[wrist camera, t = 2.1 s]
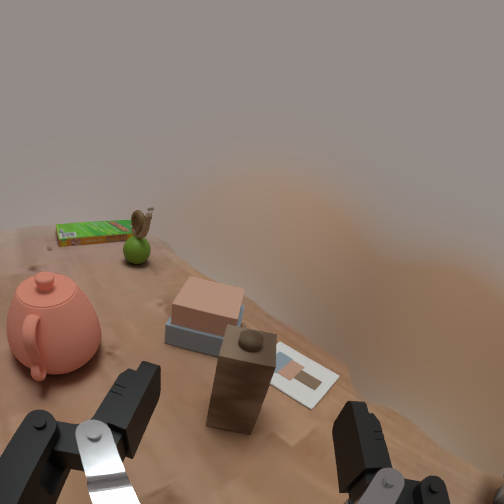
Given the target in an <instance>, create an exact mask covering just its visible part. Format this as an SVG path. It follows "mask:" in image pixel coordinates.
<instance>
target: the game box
mask: <svg viewBox="0 0 504 504" xmlns="http://www.w3.org/2000/svg"><path fill="white" fill-rule="evenodd" d="M129 224H130V225H132V223H131V220H116V221H99V222H84V223H69V224H56V233H57V238H58V242H59V247H65V246H75V245H87V244H98V243H110V242H122V241H127V240H128V239H129V238H130V237H132V236H134V235H133V234H132V232H131V226H130V225H129Z"/></svg>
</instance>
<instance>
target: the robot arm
mask: <svg viewBox="0 0 504 504" xmlns="http://www.w3.org/2000/svg"><path fill="white" fill-rule="evenodd" d="M160 390H161V368H160V366H159V365H156V364H152V363H149V362H146V361H142V362H141V364H140V365H139V367H138V369H137V371H135V370H132V369H127V370H126V371H124V372H123V373H121V374H120V375H119V376H118V378H117V379H116V381H115V383H114V385H113V386H112V387H111V389H110V392H108V394H107V395H106V397H105V398H104V400H103V402H102V403H101V405H100V407H99V408H98V410H97V411H96V413H95V415H94V416H93V418H91V419H90V420H86V421H84V422H82V423H80V424H70V423H65V422H59V421H56V420H55V418H54V417H53V416H52V414H50V413H49V412H47V411H45V410H34V411H31V412H30V413H29V414H27V416H26V417H25V419H24V420H23V422H22V423H21V425H20V426H19V428H18V429H17V431H16V432H15V434H14V436H13V437H12V439H11V440H10V442H9V444H8V445H7V447H6V449H5V450H4V452H3V454H2V455H1V457H0V504H56V502H57V500H58V497H59V495H60V493H61V490H62V488H63V486H64V483H65V481H66V479H67V477H68V474H69V472H70V470H71V469H74V470H80V471H85V474H86V477H87V481H88V483H87V487H88V491H89V494H90V497H91V500H92V502H93V504H140V503H139V501H138V499H137V497H136V494H135V492H134V490H133V488H132V485H131V483H130V481H129V478H128V476H127V474H126V472H125V469H124V467H123V464H122V463H123V461H124V459H125V456H126V457H128V458H131V459H133V458H134V455H135V453H136V451H137V448H138V446H139V444H140V441H141V439H142V437H143V434H144V432H145V430H146V427H147V425H148V423H149V421H150V418H151V416H152V414H153V411H154V409H155V407H156V405H157V402H158V400H159V396H160ZM332 435H333V442H334V450H335V458H336V466H337V474H338V483H339V493H349V498H348V499H347V500H346V501H345V503H344V504H450V501H449V497H448V493H447V489H446V485H445V483H444V481H443V480H442V479H441V478H439V477H437V476H428V477H426V478H425V479H423V480H422V481H415V480H409V479H404V478H403V476H402V474H401V473H400V472H399V471H397V470H396V469H393V468H392V465H391V461H390V457H389V453H388V450H387V446H386V442H385V440H384V435H383V433H382V428H381V425H380V422H379V420H378V419H377V418H376V416H375V415H374V414H373V413H369V412H368V409H367V405H366V403H365V402H358V401H348V402H347V403H346V404H345V406H344V407H343V409H342V411H341V412H340V414H339V415H338V417H337V419H336V420H335V422H334V425H333V430H332Z"/></svg>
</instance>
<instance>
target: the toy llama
mask: <svg viewBox="0 0 504 504" xmlns="http://www.w3.org/2000/svg"><path fill="white" fill-rule="evenodd" d="M503 477H504V476H503ZM493 502H494V503H495V504H504V485H503V486H502V487H500V488H499V489H498V491H497V494H496V496H495V499H494V501H493Z"/></svg>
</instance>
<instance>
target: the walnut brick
mask: <svg viewBox="0 0 504 504" xmlns="http://www.w3.org/2000/svg"><path fill="white" fill-rule="evenodd" d="M276 342H277V334H272V333H267V332H262V331H257V330H252V329H248V328H243V327H239V326H234V325H230V324H227V328H226V331H225V335H224V338H223V342H222V345H221V349H220V353H219V357H218V362H217V367H216V373H215V378H214V383H213V389H212V394H211V399H210V405H209V410H208V416H207V421H206V426H209V427H213V428H218V429H222V430H227V431H232V432H237V433H243V434H249V435H250V434H251V432H252V429H253V427H254V424H255V422H256V419H257V417H258V414H259V412H260V409H261V406H262V404H263V401H264V398H265V396H266V393H267V390H268V388H269V385H270V382H271V380H272V377H273V374H274V371H275V368H276Z"/></svg>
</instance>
